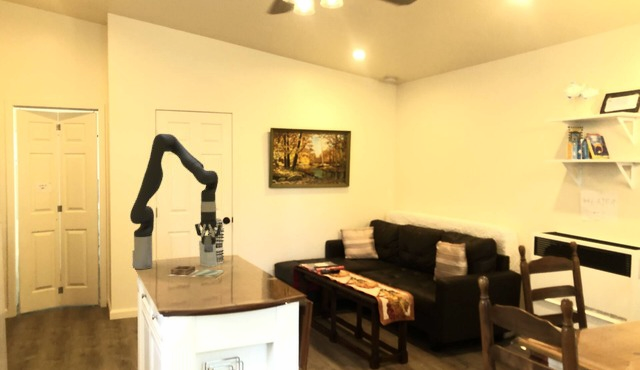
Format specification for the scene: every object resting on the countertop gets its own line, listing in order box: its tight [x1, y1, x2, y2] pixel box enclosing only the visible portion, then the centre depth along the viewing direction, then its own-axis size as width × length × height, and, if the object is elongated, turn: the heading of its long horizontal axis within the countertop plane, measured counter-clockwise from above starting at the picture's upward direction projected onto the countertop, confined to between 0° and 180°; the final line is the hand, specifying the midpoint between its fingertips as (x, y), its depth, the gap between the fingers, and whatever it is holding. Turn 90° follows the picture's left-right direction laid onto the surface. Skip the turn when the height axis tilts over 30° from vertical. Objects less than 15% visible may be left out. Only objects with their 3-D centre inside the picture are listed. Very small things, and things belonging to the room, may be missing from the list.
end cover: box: [204, 234, 213, 253], centre depth 240 cm, size 4×4×8 cm
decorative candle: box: [207, 217, 225, 265], centre depth 272 cm, size 9×9×25 cm
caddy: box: [165, 265, 224, 280], centre depth 241 cm, size 25×14×4 cm, turn 83°
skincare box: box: [198, 240, 218, 268], centre depth 259 cm, size 8×6×15 cm
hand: (208, 244), depth 240 cm, fingers closed on end cover, 4 cm apart
